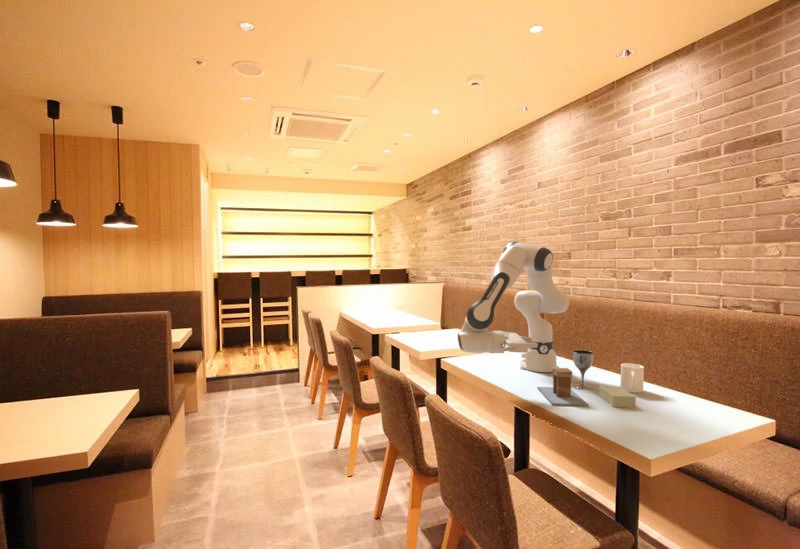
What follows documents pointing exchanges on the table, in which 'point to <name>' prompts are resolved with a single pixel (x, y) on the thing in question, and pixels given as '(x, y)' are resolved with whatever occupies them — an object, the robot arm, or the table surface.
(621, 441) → the table surface
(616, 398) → the pale olive rectangular block
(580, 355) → the wine glass
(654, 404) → the table surface
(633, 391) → the mug
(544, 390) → the mat
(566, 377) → the stool
